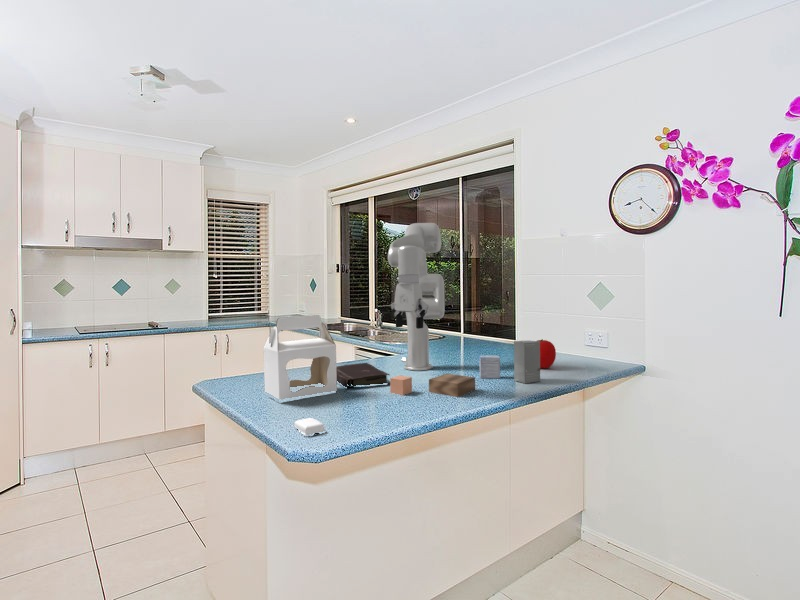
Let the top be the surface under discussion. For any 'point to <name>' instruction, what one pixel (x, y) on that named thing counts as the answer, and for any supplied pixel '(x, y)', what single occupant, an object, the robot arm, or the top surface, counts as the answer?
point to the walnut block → (452, 385)
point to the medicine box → (489, 367)
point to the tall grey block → (527, 361)
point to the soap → (309, 426)
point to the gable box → (283, 352)
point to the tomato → (546, 353)
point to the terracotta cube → (401, 385)
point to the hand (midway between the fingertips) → (409, 327)
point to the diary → (360, 374)
